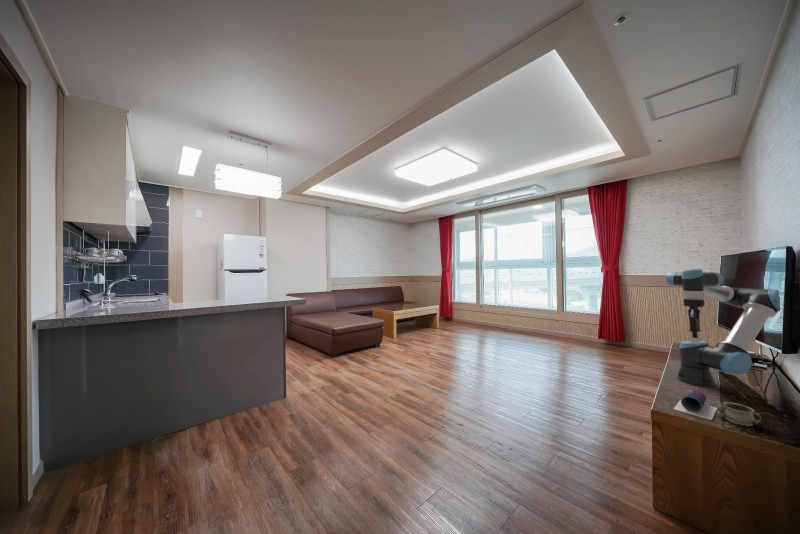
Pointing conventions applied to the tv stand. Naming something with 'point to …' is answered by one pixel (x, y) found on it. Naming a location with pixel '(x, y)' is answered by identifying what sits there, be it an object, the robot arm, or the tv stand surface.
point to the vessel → (739, 414)
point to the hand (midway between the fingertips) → (695, 343)
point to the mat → (705, 413)
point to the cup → (693, 401)
